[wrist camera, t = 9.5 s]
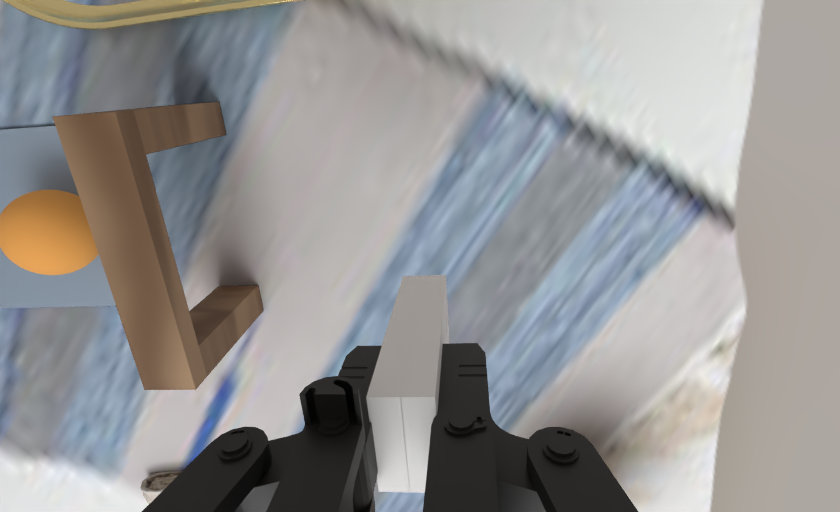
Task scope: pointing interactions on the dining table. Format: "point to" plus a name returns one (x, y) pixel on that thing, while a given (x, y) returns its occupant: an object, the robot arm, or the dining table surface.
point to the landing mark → (30, 171)
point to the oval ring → (129, 11)
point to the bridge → (151, 240)
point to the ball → (47, 233)
